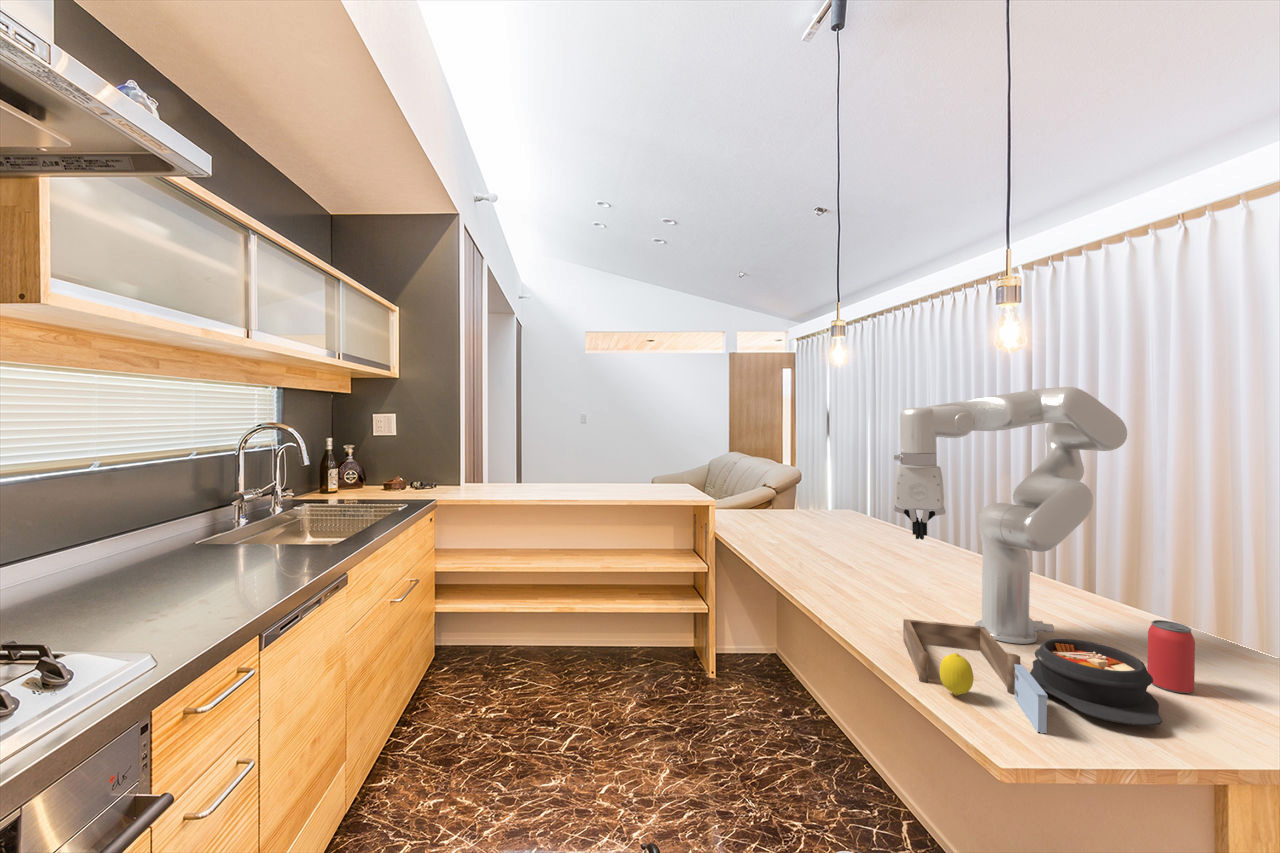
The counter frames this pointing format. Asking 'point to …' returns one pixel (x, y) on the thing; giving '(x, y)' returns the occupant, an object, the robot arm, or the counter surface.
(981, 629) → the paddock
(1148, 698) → the casserole
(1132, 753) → the counter surface
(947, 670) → the lemon
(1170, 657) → the beer can
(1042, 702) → the gate
